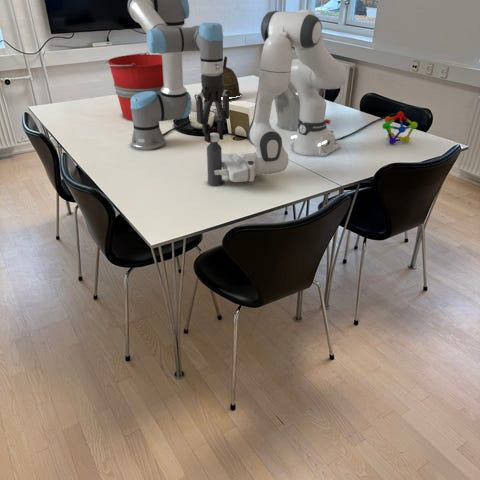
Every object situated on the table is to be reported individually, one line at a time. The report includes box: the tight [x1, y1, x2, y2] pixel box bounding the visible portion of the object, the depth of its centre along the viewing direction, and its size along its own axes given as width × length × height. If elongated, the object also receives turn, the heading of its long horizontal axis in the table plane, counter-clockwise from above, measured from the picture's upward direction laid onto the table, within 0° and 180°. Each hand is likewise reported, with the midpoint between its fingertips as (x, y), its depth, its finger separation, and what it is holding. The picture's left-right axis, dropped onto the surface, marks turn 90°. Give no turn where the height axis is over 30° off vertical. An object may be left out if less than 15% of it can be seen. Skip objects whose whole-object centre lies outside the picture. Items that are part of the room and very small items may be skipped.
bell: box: [221, 56, 242, 97], centre depth 278 cm, size 19×26×20 cm
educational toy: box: [382, 110, 418, 145], centre depth 207 cm, size 16×13×15 cm
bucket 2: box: [273, 81, 326, 131], centre depth 226 cm, size 30×30×28 cm
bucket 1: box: [104, 51, 164, 121], centre depth 240 cm, size 35×35×30 cm
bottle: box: [206, 141, 223, 187], centre depth 166 cm, size 5×5×19 cm
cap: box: [210, 132, 220, 143], centre depth 162 cm, size 4×4×2 cm
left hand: (213, 140), depth 162 cm, fingers open, 5 cm apart
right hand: (212, 168), depth 168 cm, fingers closed on bottle, 5 cm apart
